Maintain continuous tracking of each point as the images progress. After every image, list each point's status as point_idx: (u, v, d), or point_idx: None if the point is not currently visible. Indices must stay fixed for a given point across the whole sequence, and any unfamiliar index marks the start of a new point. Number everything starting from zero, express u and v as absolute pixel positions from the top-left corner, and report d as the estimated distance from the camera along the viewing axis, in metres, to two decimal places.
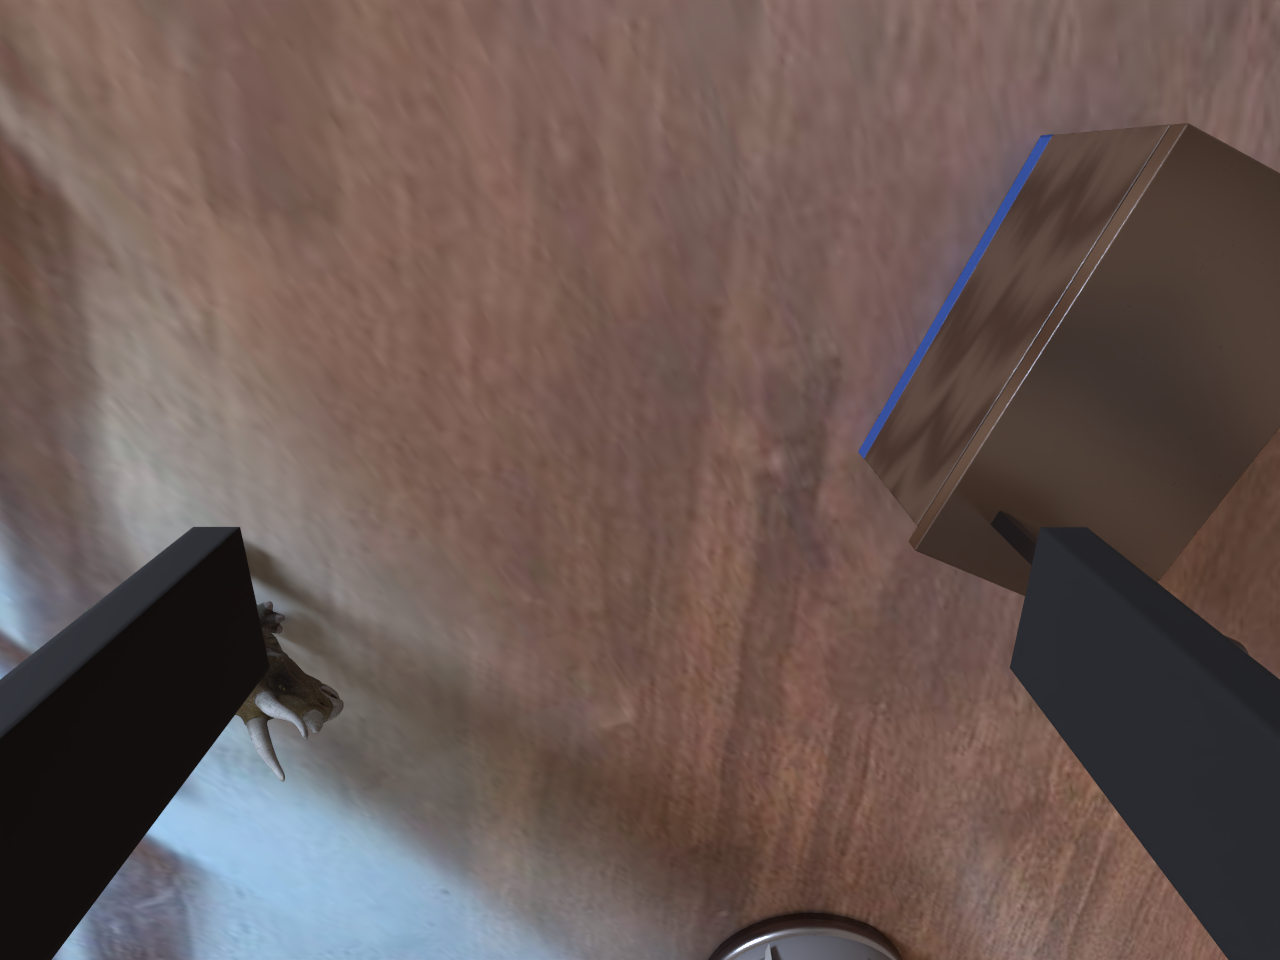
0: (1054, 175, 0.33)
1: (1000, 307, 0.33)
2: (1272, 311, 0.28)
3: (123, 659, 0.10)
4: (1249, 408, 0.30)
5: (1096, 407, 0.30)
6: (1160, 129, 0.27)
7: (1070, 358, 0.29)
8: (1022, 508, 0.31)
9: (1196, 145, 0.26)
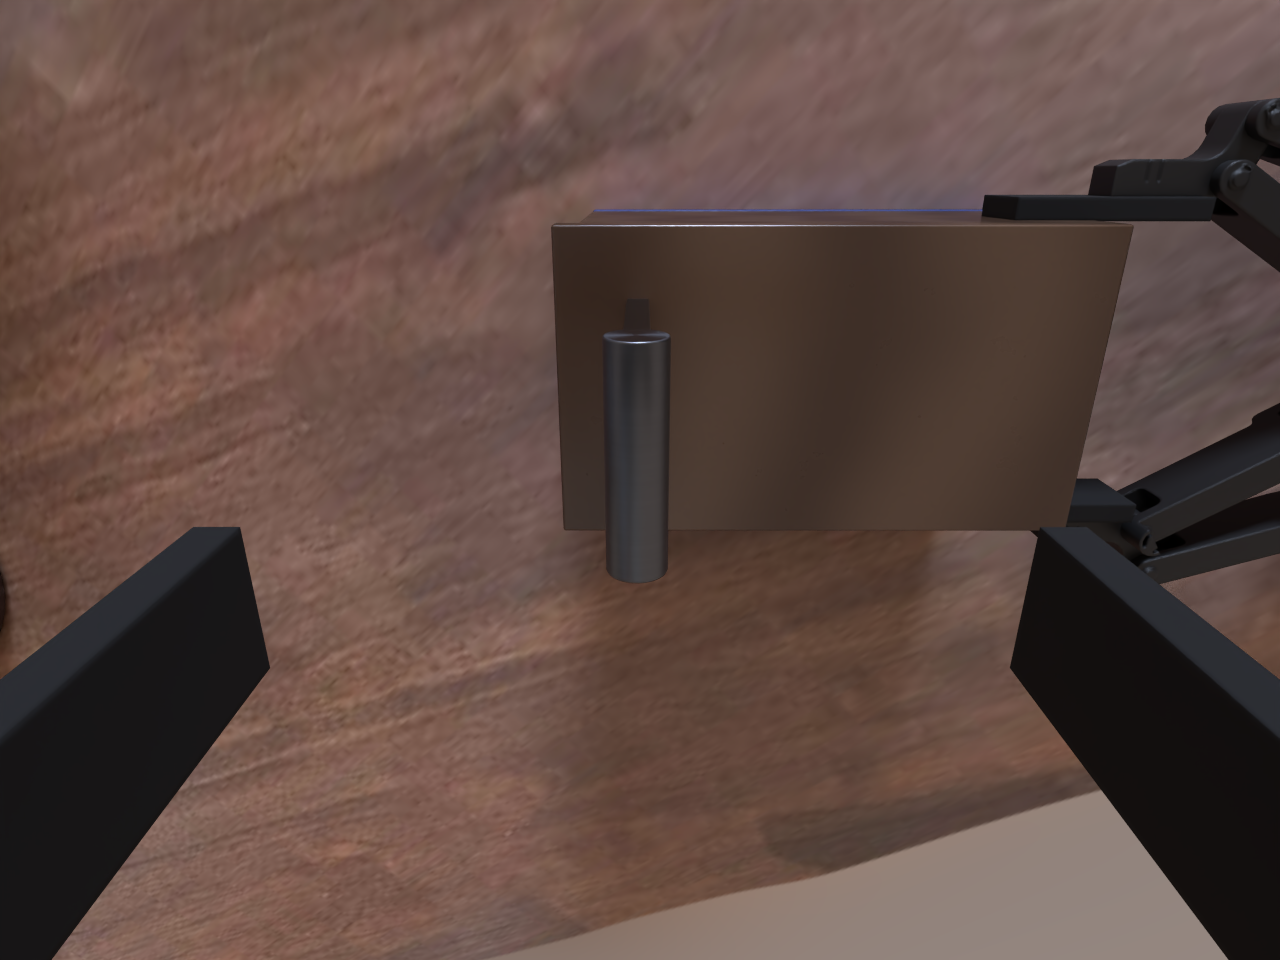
0: (980, 213, 0.30)
1: (845, 216, 0.28)
2: (970, 441, 0.26)
3: (123, 659, 0.10)
4: (866, 488, 0.27)
5: (811, 330, 0.25)
6: None
7: (856, 264, 0.24)
8: (662, 324, 0.25)
9: (1114, 249, 0.24)
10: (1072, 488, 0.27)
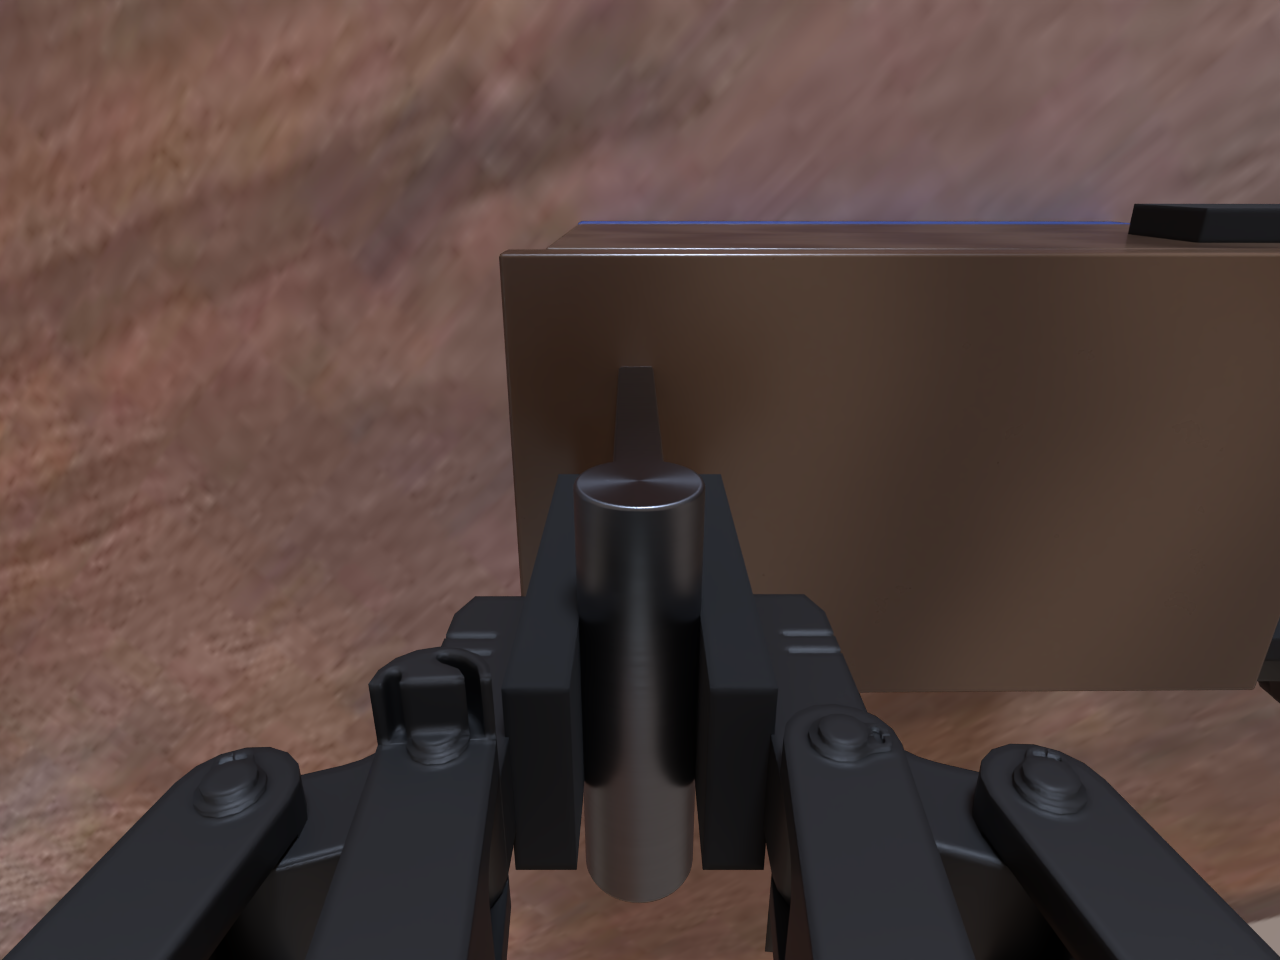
0: (1115, 229, 0.21)
1: (933, 234, 0.19)
2: (1130, 571, 0.18)
3: None
4: (972, 636, 0.18)
5: (902, 413, 0.16)
6: None
7: (976, 314, 0.15)
8: (674, 405, 0.16)
9: None
10: (1271, 633, 0.18)
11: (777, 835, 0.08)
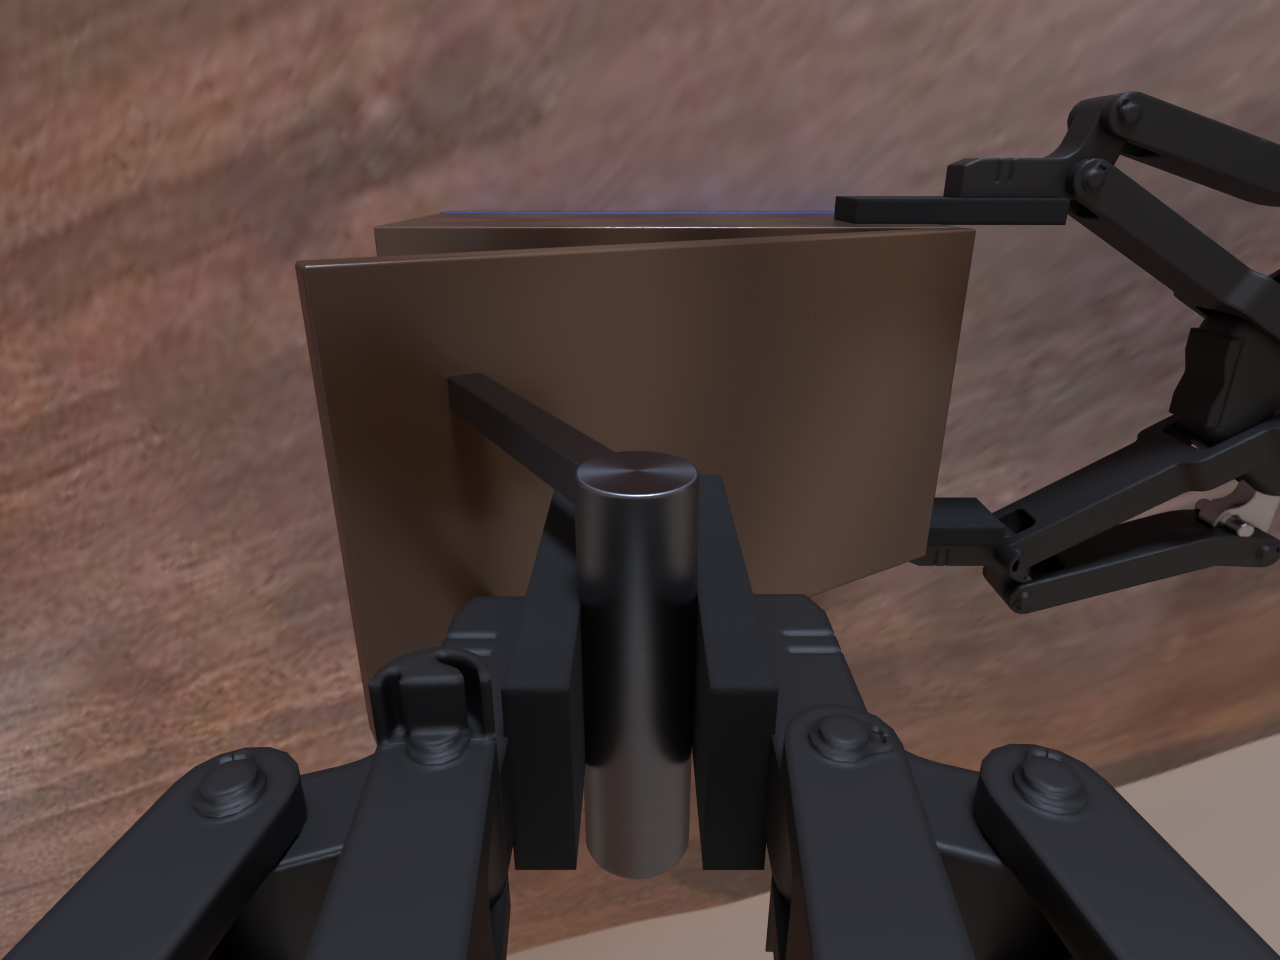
0: None
1: (687, 219, 0.26)
2: (852, 485, 0.22)
3: None
4: (758, 566, 0.21)
5: (694, 385, 0.18)
6: (945, 226, 0.23)
7: (739, 293, 0.18)
8: None
9: (962, 256, 0.22)
10: (931, 511, 0.25)
11: (777, 835, 0.08)
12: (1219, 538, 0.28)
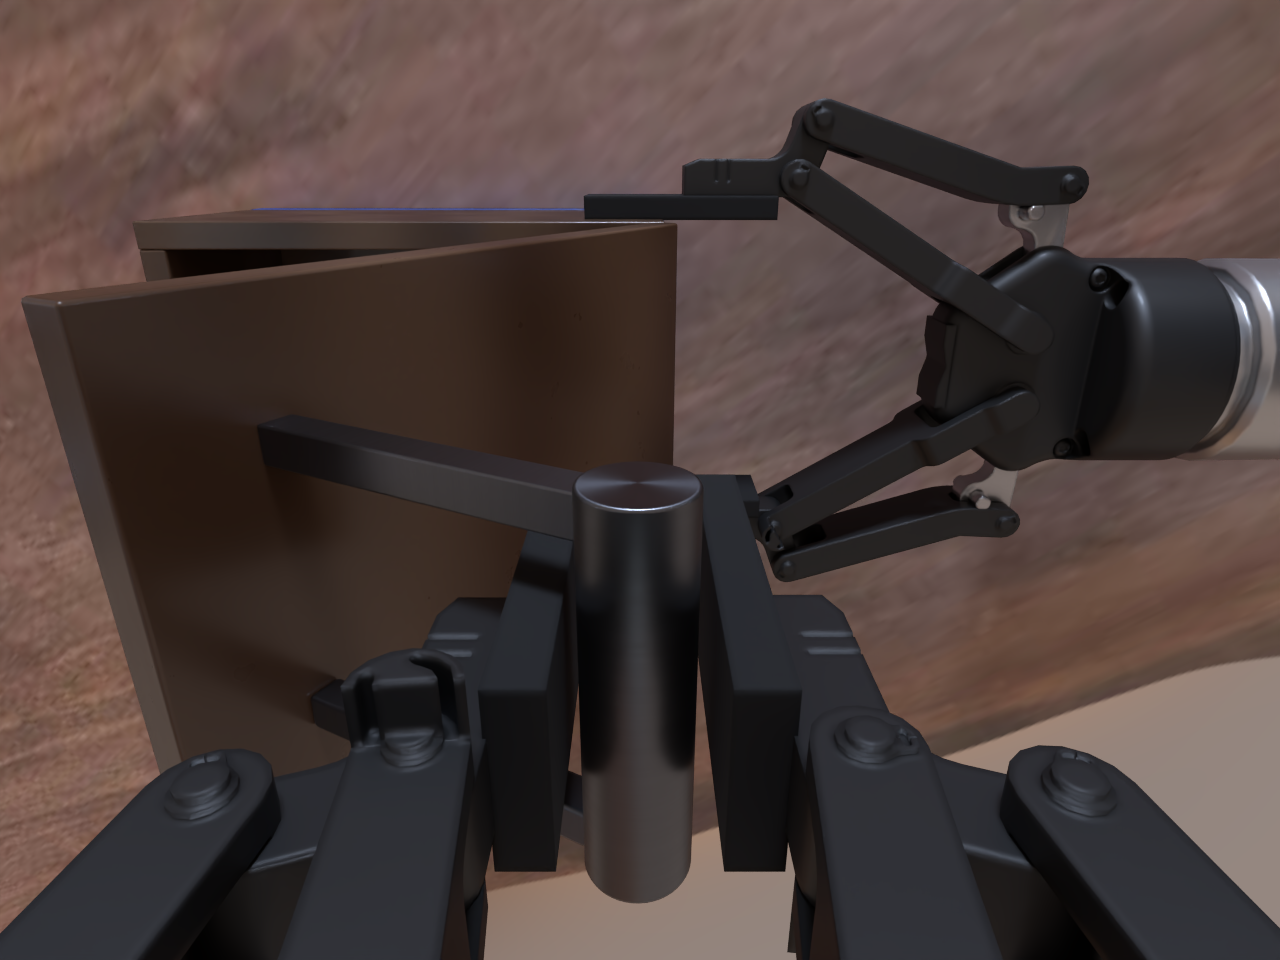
0: None
1: (452, 215, 0.28)
2: None
3: (572, 570, 0.12)
4: None
5: (494, 396, 0.17)
6: (659, 221, 0.25)
7: (521, 296, 0.18)
8: None
9: (671, 248, 0.24)
10: None
11: (801, 836, 0.08)
12: (959, 510, 0.30)
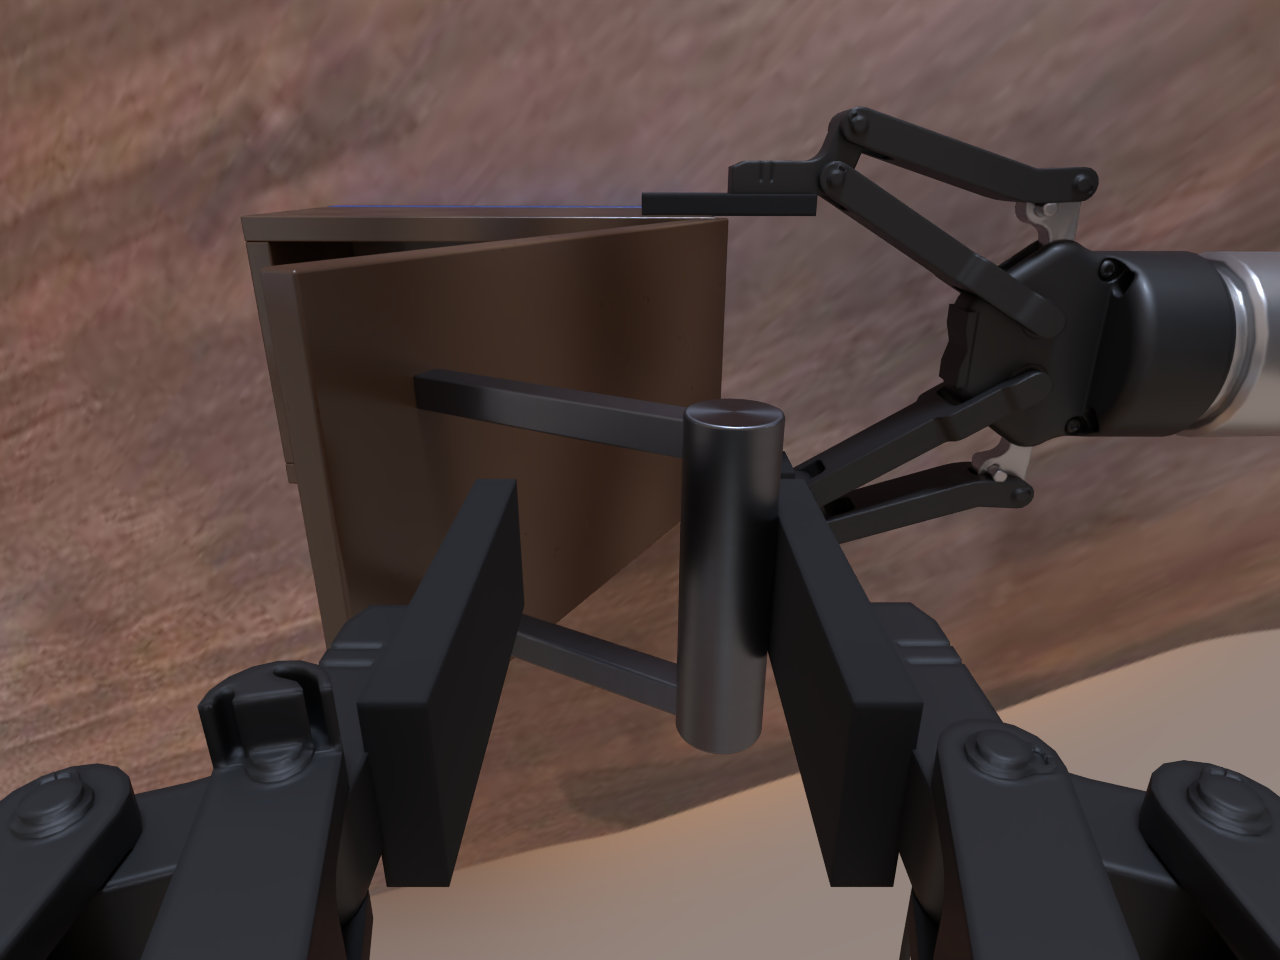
0: None
1: (518, 211, 0.31)
2: None
3: (487, 577, 0.11)
4: (626, 521, 0.24)
5: (580, 364, 0.20)
6: (710, 216, 0.28)
7: (603, 279, 0.20)
8: None
9: (723, 241, 0.27)
10: None
11: (922, 846, 0.08)
12: (978, 483, 0.33)
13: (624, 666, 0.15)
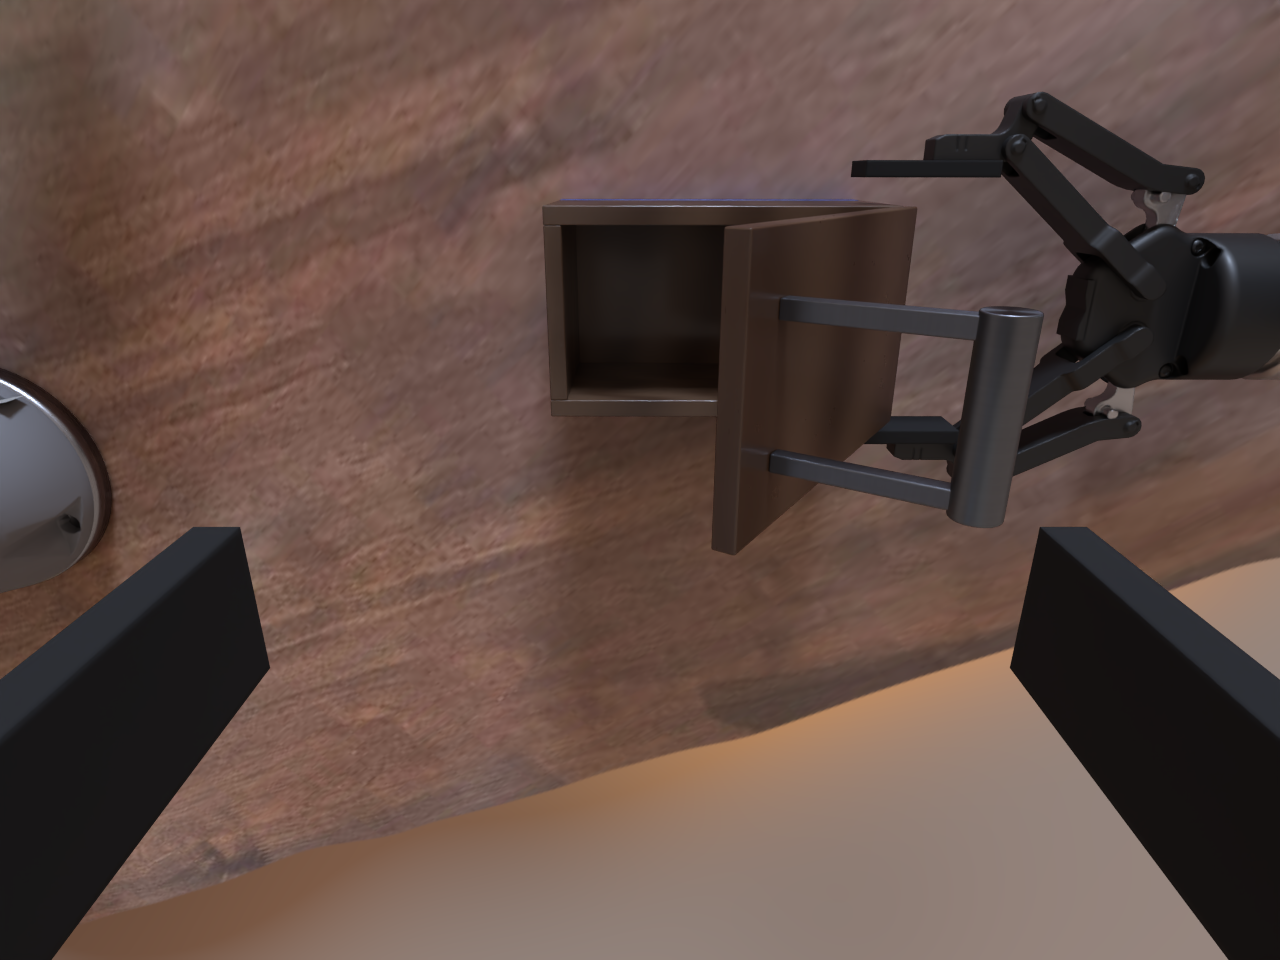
0: None
1: None
2: (874, 372, 0.35)
3: (123, 659, 0.10)
4: (846, 427, 0.33)
5: None
6: None
7: (856, 246, 0.29)
8: None
9: (913, 223, 0.35)
10: (893, 390, 0.39)
11: None
12: (1096, 422, 0.42)
13: (911, 481, 0.24)
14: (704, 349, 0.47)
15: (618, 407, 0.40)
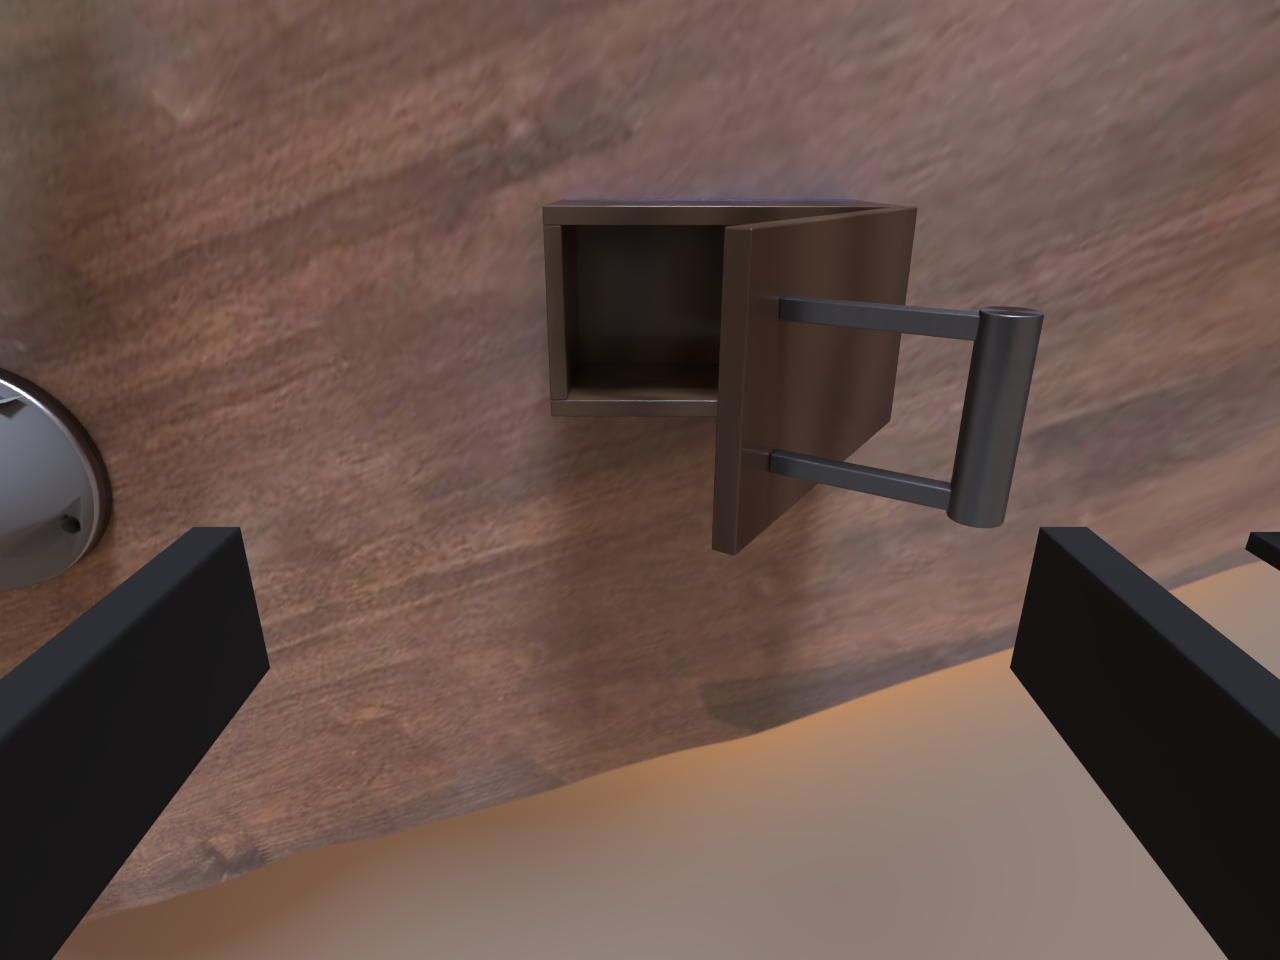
0: None
1: None
2: (874, 372, 0.35)
3: (123, 659, 0.10)
4: (846, 427, 0.33)
5: None
6: None
7: (856, 246, 0.29)
8: None
9: (913, 223, 0.35)
10: (893, 390, 0.39)
11: None
12: None
13: (911, 481, 0.24)
14: (704, 349, 0.47)
15: (618, 407, 0.40)
